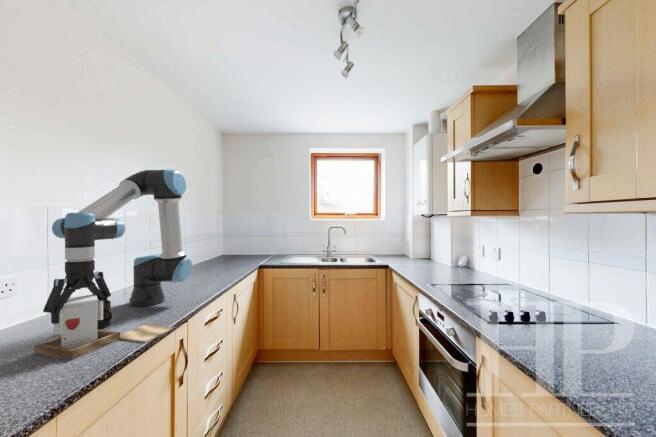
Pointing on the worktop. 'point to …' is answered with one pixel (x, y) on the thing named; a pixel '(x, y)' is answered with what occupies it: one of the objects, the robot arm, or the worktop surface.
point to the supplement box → (79, 321)
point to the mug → (105, 316)
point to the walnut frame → (53, 350)
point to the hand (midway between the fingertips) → (80, 325)
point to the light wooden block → (145, 333)
